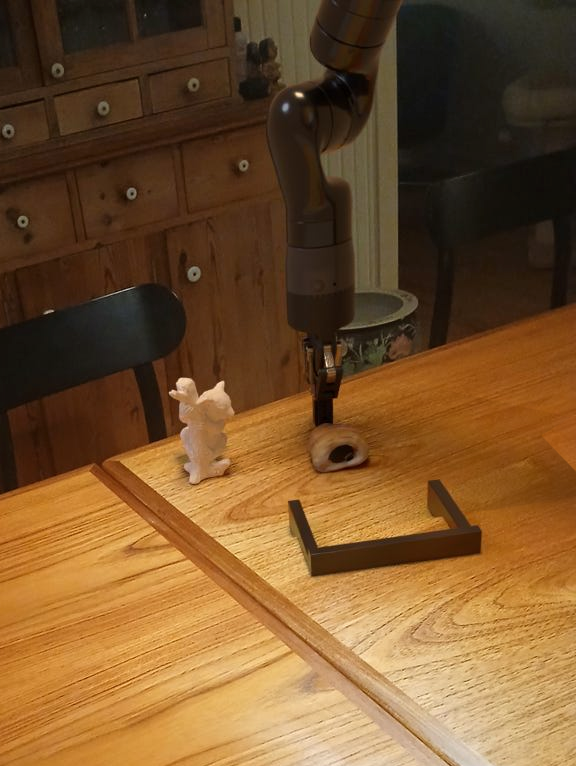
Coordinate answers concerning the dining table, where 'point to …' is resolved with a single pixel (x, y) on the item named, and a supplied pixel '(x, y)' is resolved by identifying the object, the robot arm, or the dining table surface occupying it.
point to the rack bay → (391, 540)
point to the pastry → (336, 447)
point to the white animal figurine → (203, 428)
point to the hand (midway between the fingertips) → (323, 425)
